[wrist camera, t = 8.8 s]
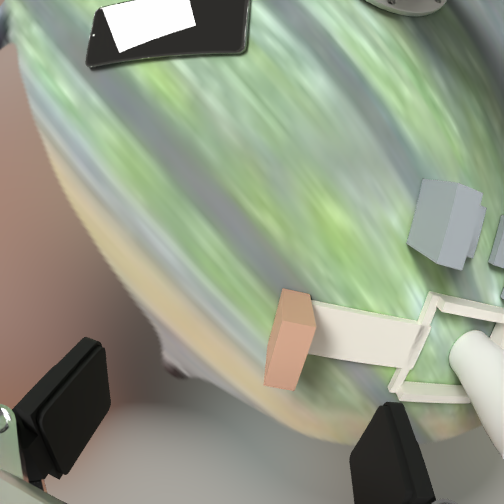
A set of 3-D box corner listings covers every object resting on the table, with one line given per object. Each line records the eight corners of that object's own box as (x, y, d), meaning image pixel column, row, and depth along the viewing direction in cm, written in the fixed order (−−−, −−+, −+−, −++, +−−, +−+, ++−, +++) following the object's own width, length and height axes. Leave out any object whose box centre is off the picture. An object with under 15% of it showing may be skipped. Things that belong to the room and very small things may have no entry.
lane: (289, 259, 28) (291, 285, 22) (508, 308, 27) (540, 333, 21) (261, 367, 31) (256, 408, 25) (468, 392, 30) (489, 423, 24)
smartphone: (245, 52, 23) (83, 67, 24) (246, 56, 25) (88, 70, 25) (251, -13, 22) (95, 7, 22) (251, -8, 23) (99, 10, 24)
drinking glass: (497, 340, 28) (567, 414, 14) (458, 382, 30) (513, 468, 15) (473, 310, 28) (555, 388, 13) (430, 357, 29) (491, 453, 15)
